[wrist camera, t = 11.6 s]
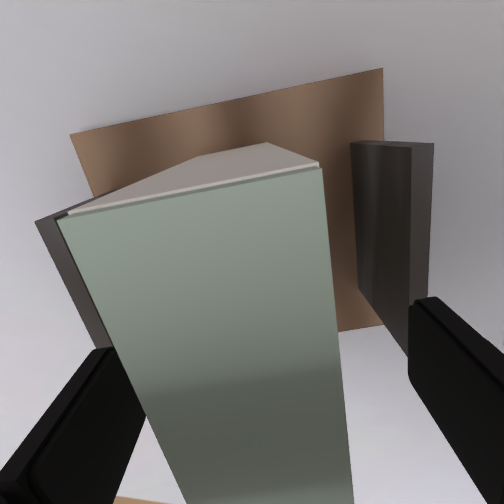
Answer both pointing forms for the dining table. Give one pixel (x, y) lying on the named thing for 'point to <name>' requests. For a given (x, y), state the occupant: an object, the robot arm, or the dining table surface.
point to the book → (226, 322)
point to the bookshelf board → (334, 180)
